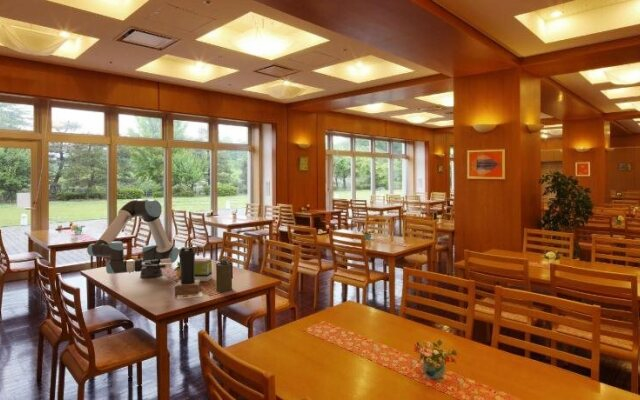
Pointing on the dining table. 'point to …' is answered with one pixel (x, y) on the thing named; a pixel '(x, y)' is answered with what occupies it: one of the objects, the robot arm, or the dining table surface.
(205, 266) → the tea box
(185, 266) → the water bottle
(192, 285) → the plinth
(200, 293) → the page
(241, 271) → the dining table surface
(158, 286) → the dining table surface
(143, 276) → the robot arm
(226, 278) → the canister
